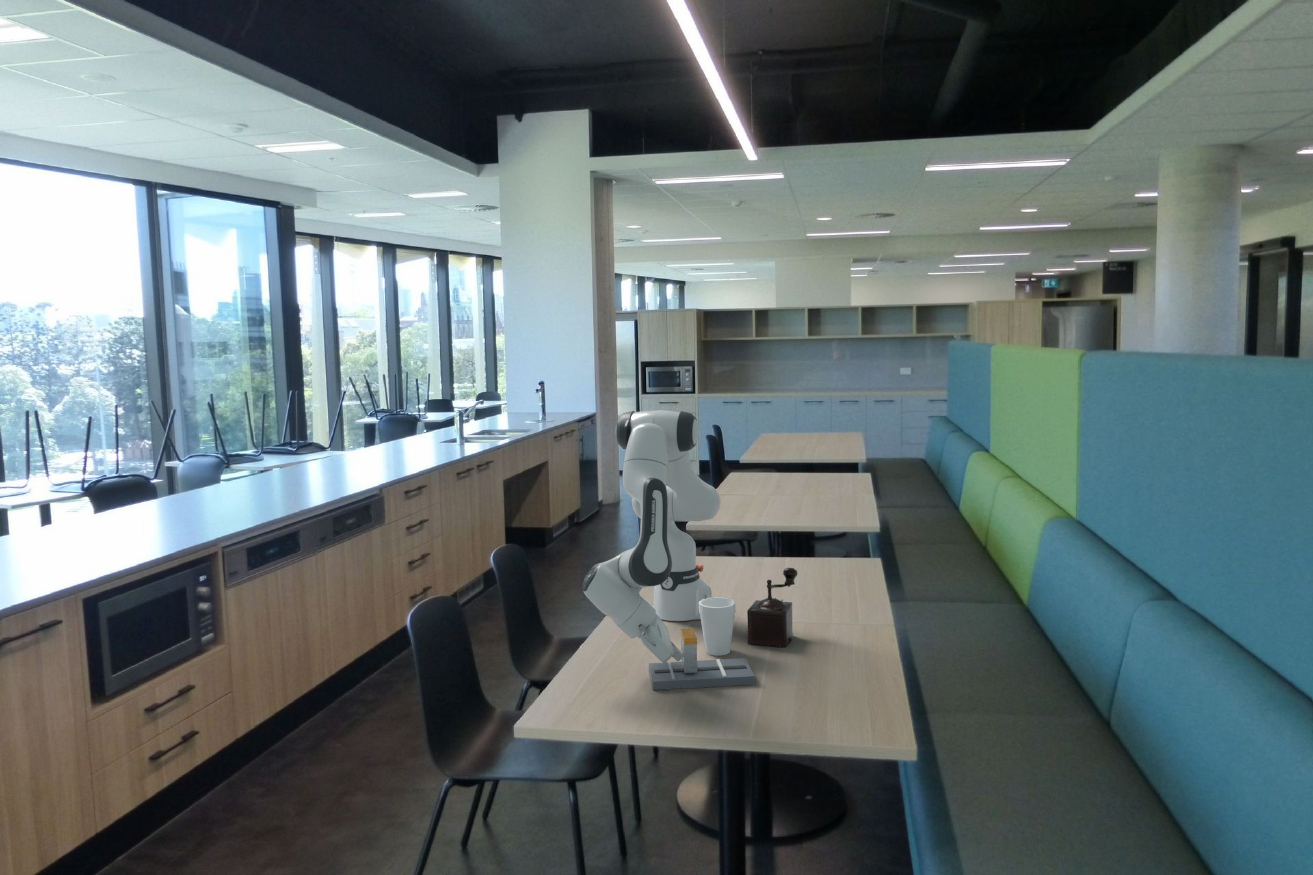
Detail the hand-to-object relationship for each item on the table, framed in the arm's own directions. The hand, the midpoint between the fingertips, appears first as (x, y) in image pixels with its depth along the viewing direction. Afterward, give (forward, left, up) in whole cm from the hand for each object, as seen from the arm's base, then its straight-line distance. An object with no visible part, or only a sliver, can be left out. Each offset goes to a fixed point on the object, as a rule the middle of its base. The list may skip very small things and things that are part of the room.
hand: (680, 657), depth 215 cm
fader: (-1, +2, -3) cm, 3 cm away
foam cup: (-21, -1, -5) cm, 22 cm away
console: (-3, +4, -5) cm, 7 cm away
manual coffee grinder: (-38, +7, -5) cm, 39 cm away
